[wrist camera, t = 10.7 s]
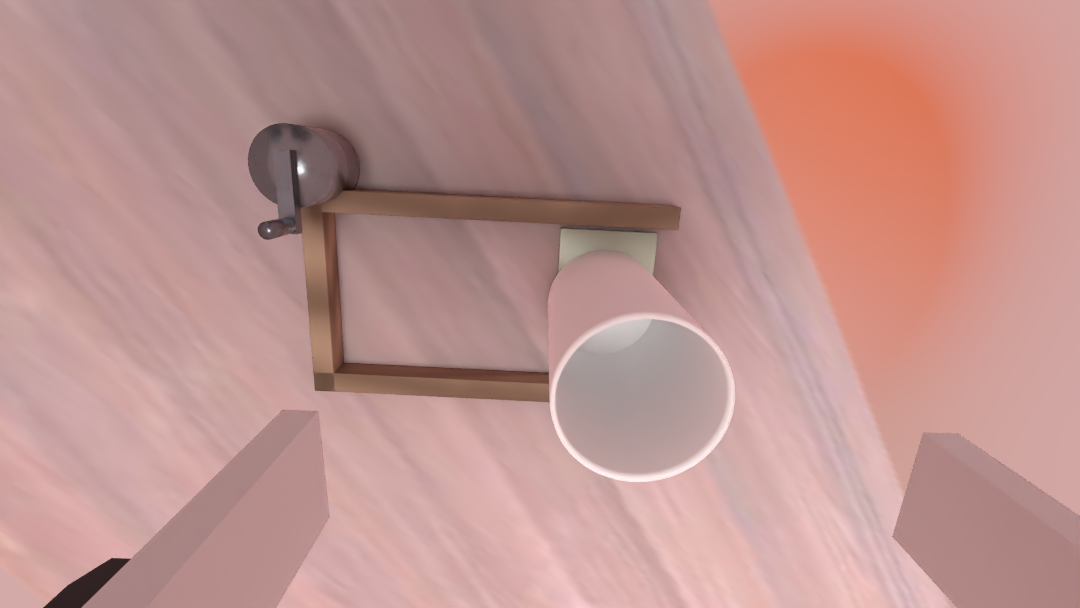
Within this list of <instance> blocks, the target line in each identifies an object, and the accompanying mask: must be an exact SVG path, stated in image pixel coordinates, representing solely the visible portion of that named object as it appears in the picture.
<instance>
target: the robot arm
mask: <svg viewBox="0 0 1080 608" xmlns="http://www.w3.org/2000/svg"><path fill="white" fill-rule="evenodd" d="M329 517H330V516H329V507H328V497H327V488H326V479H325V469H324V460H323V450H322V441H321V432H320V422H319V413H318V411H302V410H282V411H281V412H280V413H279V414H278V415H277V416H276V417H275V418H274V419H273V420H272V421H271V422H270V423H269V424H268V425H267V426H266V427H265V428H264V429H263V430H262V431H261V432H260V433H259V434H258V435H257V436H256V437H255V438H254V439H253V440H252V441H251V442H250V443H249V444H248V445H247V446H246V447H245V448H244V449H243V450H242V451H240V452H239V453H238V454H237V455H236V456H235V457H234V458H233V459H232V460H231V461H230V462H229V463H228V464H227V465H226V466H225V467H224V468H223V469H222V470H221V471H220V472H219V473H218V474H217V475H216V476H215V477H214V478H213V479H212V480H211V481H210V482H209V483H208V484H207V485H206V486H205V487H204V488H203V489H202V490H201V491H200V492H199V493H198V494H197V495H196V496H195V497H194V498H193V499H192V500H191V501H190V502H189V503H188V504H187V505H185V506H184V507H183V508H182V509H181V510H180V511H179V512H178V513H177V514H176V515H175V516H174V517H173V518H172V519H171V520H170V521H169V522H168V523H167V524H166V525H165V526H164V527H163V528H162V529H161V530H160V531H159V532H158V533H157V534H156V535H155V536H154V537H153V538H152V539H151V540H150V541H149V542H148V543H147V544H146V545H145V546H144V547H143V548H142V549H141V550H140V551H139V552H138V553H137V554H136V555H135V556H134V557H133V558H132V559H121V558H111V559H110V560H108V561H106V562H105V563H103V564H101V565H100V566H98V567H97V568H95V569H93V570H92V571H90V572H89V573H87V574H85V575H84V576H82V577H81V578H79V579H77V580H76V581H74V582H72V583H71V584H69V585H68V586H67V587H66V588H64V589H63V590H62V591H61V592H60V593H59V594H58V595H57V596H56V597H54V598H53V599H52V600H51V601H50V602H49V603H48V604H47V605H46V606H45V607H43V608H276V607H277V605H278V604H279V602H280V600H281V598H282V597H283V595H284V593H285V592H286V590H287V588H288V587H289V585H290V583H291V582H292V580H293V578H294V576H295V575H296V573H297V571H298V570H299V568H300V566H301V565H302V563H303V561H304V559H305V558H306V556H307V554H308V553H309V551H310V549H311V548H312V546H313V544H314V543H315V541H316V539H317V537H318V536H319V534H320V532H321V531H322V529H323V527H324V526H325V524H326V522H327V521H328V519H329ZM892 537H893V538H894V539H895V540H896V541H897V542H898V543H899V544H900V545H901V546H902V548H903V549H904V550H905V551H906V552H907V553H908V554H909V555H910V556H911V557H912V559H913V560H914V561H915V562H916V563H917V564H918V565H919V566H920V567H921V568H922V570H923V571H924V572H925V573H926V574H927V575H928V576H929V577H930V578H931V579H932V581H933V582H934V583H935V584H936V585H937V586H938V587H939V588H940V589H941V590H942V592H943V593H944V594H945V595H946V596H947V597H948V598H949V599H950V600H951V601H952V603H953V604H954V605H955V606H956V607H957V608H1080V516H1079V515H1078V514H1076V513H1075V512H1073V511H1072V510H1070V509H1069V508H1067V507H1066V506H1064V505H1063V504H1062V503H1060V502H1059V501H1057V500H1056V499H1054V498H1053V497H1051V496H1050V495H1048V494H1047V493H1045V492H1044V491H1042V490H1041V489H1039V488H1038V487H1036V486H1035V485H1033V484H1032V483H1031V482H1029V481H1027V480H1026V479H1025V478H1023V477H1022V476H1020V475H1019V474H1017V473H1016V472H1014V471H1013V470H1011V469H1010V468H1008V467H1007V466H1005V465H1004V464H1002V463H1001V462H999V461H998V460H997V459H995V458H994V457H992V456H990V455H989V454H988V453H986V452H985V451H983V450H982V449H980V448H979V447H977V446H976V445H974V444H973V443H971V442H970V441H968V440H967V439H965V438H964V437H962V436H961V435H959V434H952V433H925V432H924V433H923V435H922V438H921V441H920V445H919V448H918V452H917V455H916V458H915V462H914V465H913V469H912V472H911V475H910V479H909V482H908V486H907V489H906V492H905V496H904V499H903V502H902V506H901V509H900V513H899V516H898V519H897V523H896V526H895V530H894V533H893V536H892Z"/></svg>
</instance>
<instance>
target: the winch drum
mask: <svg viewBox="0 0 1080 608" xmlns="http://www.w3.org/2000/svg"><path fill="white" fill-rule="evenodd" d="M248 166H249V171H250V174H251V177H252V179H253V182H254V183H255V185H256V187H257V188H258V189H259V191H260V192H261V193H262V194H263V195H264V196H265V197H266V198H268V199H269V200H271V201H272V202H274V203H276V204H278V213H279V219H276V220H271V221H267V222H262V223H261V224H260V225H259V226H258V233H259V235H260V236H261V237H262V238H264V239H267V240H269V239H273V238H277V237H280V236H284V235H288V234H299V233H303V230H302V218H301V207H307V206H313V205H318V204H324V203H327V202H330V201H332V200H333V199H335V198H336V197H337V196H339V195H340V193H341V192H342V191H345V190H352V189H354V188H355V186H356V184H357V182H358V178H359V171H360V168H359V161H358V157H357V155H356V153H355V151H354V149H353V147H352V146H351V144H350V143H349V142H348V141H347V140H346V139H345V138H344V137H342V136H341V135H339V134H337V133H336V132H333V131H330V130H326V129H320V128H313V127H307V126H300V125H294V124H287V123H280V124H274V125H271V126H269V127H267V128H265V129H263V130H262V131H261V132H260V133H259V134H257V136H256V137H255V138H254V140H253V142H252V144H251V146H250V149H249V154H248Z"/></svg>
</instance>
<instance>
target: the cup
mask: <svg viewBox="0 0 1080 608" xmlns="http://www.w3.org/2000/svg"><path fill="white" fill-rule="evenodd" d="M548 344H549V401H550V411H551V416H552V420H553V423H554V426H555V430H556V432H557V434H558V436H559V438H560V440H561V441H562V443H563V445H564V446H565V447H566V449H567V450H568V451H569V452H570V453H571V455H572V456H573V457H574V458H576V459H577V460H578V461H579V462H580V463H582V464H583V465H584V466H586V467H587V468H589V469H591V470H592V471H594V472H596V473H598V474H601V475H603V476H606V477H609V478H612V479H616V480H621V481H629V482H647V481H655V480H660V479H664V478H668V477H671V476H674V475H677V474H679V473H681V472H683V471H685V470H687V469H689V468H691V467H692V466H694V465H695V464H697V463H698V462H700V461H701V460H702V459H704V458H705V457H706V456H707V455H708V454H709V453H710V452H711V451H712V450H713V449H714V448H715V447H716V445H717V444H718V443H719V441H720V440H721V439H722V437H723V435H724V434H725V432H726V430H727V428H728V426H729V423H730V420H731V418H732V414H733V410H734V404H735V384H734V378H733V374H732V371H731V368H730V365H729V363H728V361H727V359H726V357H725V356H724V354H723V352H722V350H721V349H720V347H719V346H718V345H717V343H716V342H715V341H714V340H713V339H712V338H711V337H710V336H709V335H708V334H707V332H706V331H705V330H704V329H703V328H702V327H701V326H700V325H699V324H698V323H697V322H696V321H695V320H694V319H693V318H692V317H691V316H690V314H689V313H688V312H687V311H686V310H685V309H684V308H683V307H682V306H681V305H680V304H679V303H678V302H677V301H676V300H675V299H674V298H673V297H672V296H671V294H670V293H669V292H668V291H667V290H666V289H665V288H664V287H663V286H662V285H661V284H660V283H659V282H658V281H657V280H656V279H655V278H654V277H653V276H652V275H651V273H650V272H649V271H648V270H647V269H646V268H645V267H644V266H643V265H642V264H641V263H640V262H638V261H637V260H636V259H634V258H633V257H631V256H629V255H627V254H624V253H621V252H618V251H613V250H596V251H591V252H587V253H584V254H582V255H580V256H578V257H576V258H574V259H573V260H571V261H570V262H568V263H567V264H566V265H565V266H564V267H563V268H562V269H561V270H560V271H559V273H558V274H557V276H556V277H555V279H554V281H553V283H552V285H551V288H550V292H549V296H548Z"/></svg>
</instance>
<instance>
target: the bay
mask: <svg viewBox="0 0 1080 608" xmlns="http://www.w3.org/2000/svg"><path fill="white" fill-rule="evenodd" d="M680 212H681V208H680V207H677V206H674V205H654V204H634V203H614V202H595V201H575V200H555V199H535V198H515V197H496V196H476V195H456V194H436V193H416V192H397V191H377V190H357V189H352V190H345V191H342V192H341V193H340V195H339V196H337V197H336V198H335V199H333V200H332V201H330V202H327V203H324V204H318V205H313V206H307V207H301V218H302V230H303V233H302V238H303V250H304V262H305V274H306V287H307V299H308V311H309V323H310V335H311V347H312V359H313V372H314V384H315V391H335V392H355V393H376V394H396V395H416V396H436V397H457V398H477V399H497V400H517V401H538V402H550V401H549V373H536V372H515V371H495V370H475V369H455V368H435V367H414V366H394V365H374V364H354V363H344V357H343V341H342V326H341V310H340V294H339V279H338V263H337V247H336V232H335V216H334V213H351V214H371V215H390V216H410V217H430V218H450V219H470V220H490V221H509V222H529V223H549V224H569V225H589V226H609V227H629V228H648V229H668V230H678V228H679V220H680ZM657 236H658V233H654V232H634V231H614V230H594V229H575V228H561V233H560V250H559V266H558V273H559V271H560V270H561V269H562V268H563V267H564V266H565V265H566V264H567V263H568V262H570V261H571V260H573V259H574V258H576V257H578V256H580V255H582V254H584V253H587V252H591V251H596V250H613V251H618V252H621V253H624V254H627V255H629V256H631V257H633V258H634V259H636V260H637V261H638V262H640V263H641V264H642V265H643V266H644V267H645V268H646V269H647V270H648V271H649V272H650V273H651V275H652V276H653V271H654V263H655V254H656V245H657Z"/></svg>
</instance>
